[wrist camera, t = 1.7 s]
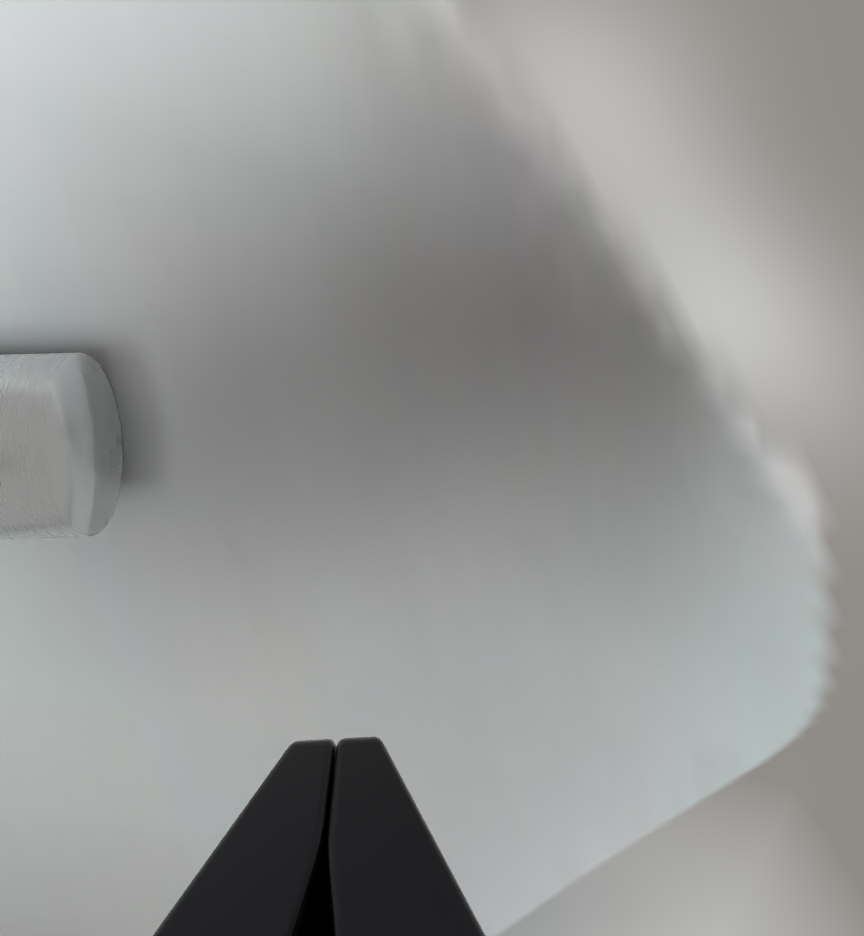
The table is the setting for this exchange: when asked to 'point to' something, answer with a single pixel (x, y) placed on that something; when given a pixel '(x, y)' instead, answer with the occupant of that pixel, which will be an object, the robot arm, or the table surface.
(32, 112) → the table surface
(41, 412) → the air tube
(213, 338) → the table surface
